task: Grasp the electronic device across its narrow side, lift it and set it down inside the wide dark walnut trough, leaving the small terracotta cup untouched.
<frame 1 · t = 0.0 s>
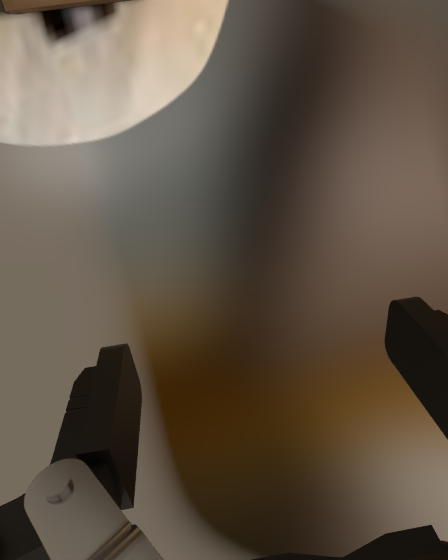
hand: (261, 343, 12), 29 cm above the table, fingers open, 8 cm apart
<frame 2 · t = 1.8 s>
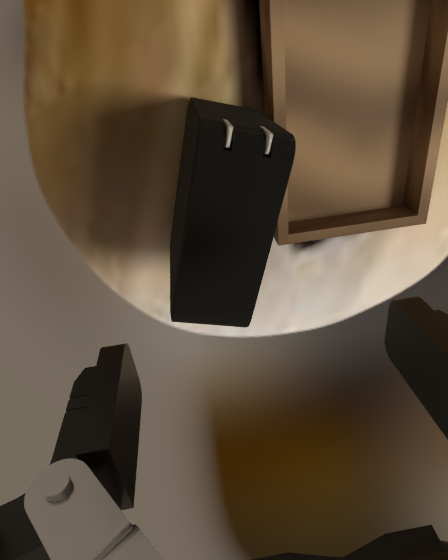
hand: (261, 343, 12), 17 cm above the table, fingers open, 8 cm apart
trough: (345, 99, 25), on the table
electronic device: (208, 180, 26), on the table
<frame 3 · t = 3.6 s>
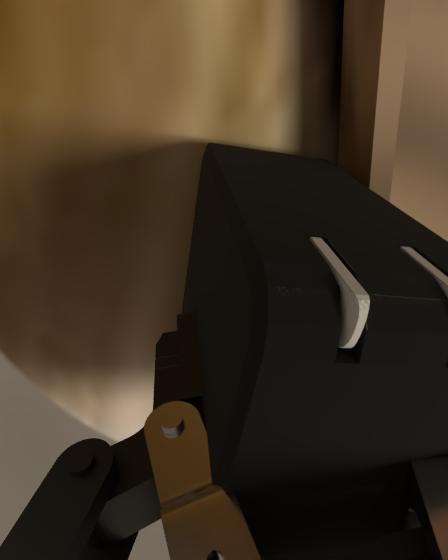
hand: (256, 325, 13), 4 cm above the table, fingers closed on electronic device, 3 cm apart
electronic device: (237, 269, 16), on the table, touching gripper
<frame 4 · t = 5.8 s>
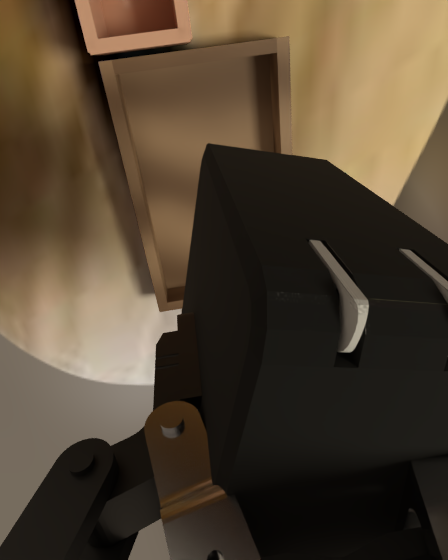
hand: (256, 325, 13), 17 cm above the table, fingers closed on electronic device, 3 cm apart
trough: (210, 184, 27), on the table
electronic device: (237, 269, 16), point 13 cm above the table, touching gripper
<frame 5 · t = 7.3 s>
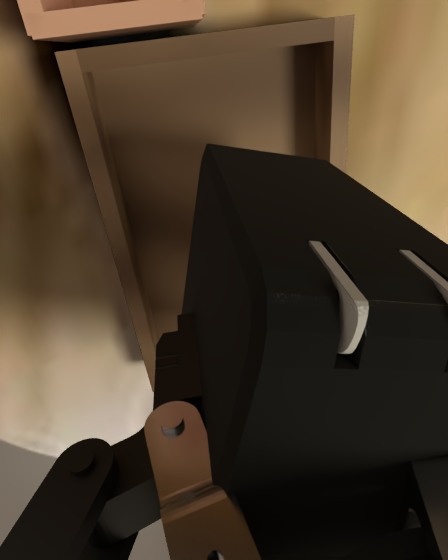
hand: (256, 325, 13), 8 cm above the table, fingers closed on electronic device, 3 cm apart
trough: (223, 224, 20), on the table
electronic device: (236, 269, 16), point 5 cm above the table, touching gripper
when the fingers open (6 cm above the table, at t = 8.2 s): electronic device drops 1 cm, resting on trough.
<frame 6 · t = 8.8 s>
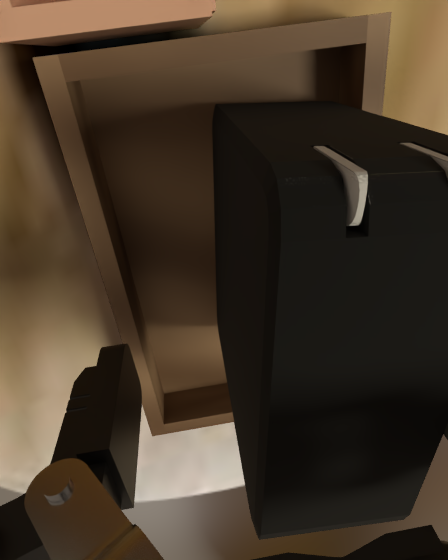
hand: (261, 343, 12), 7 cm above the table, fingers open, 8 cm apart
trough: (231, 250, 18), on the table
electronic device: (261, 226, 17), resting on trough
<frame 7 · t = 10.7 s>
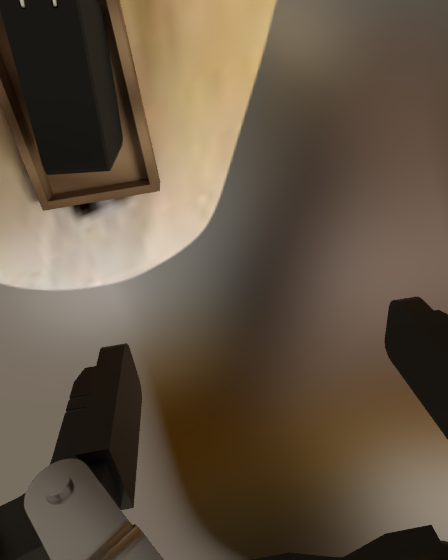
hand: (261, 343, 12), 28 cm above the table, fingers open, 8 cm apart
trough: (77, 96, 32), on the table
electronic device: (88, 80, 32), resting on trough
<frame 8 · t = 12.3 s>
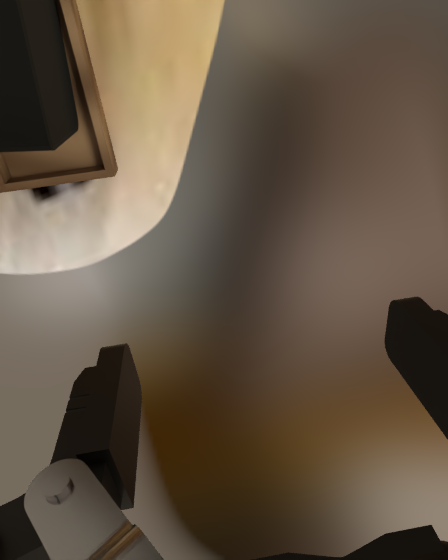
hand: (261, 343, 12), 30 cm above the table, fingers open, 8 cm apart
trough: (33, 82, 33), on the table
electronic device: (44, 66, 33), resting on trough
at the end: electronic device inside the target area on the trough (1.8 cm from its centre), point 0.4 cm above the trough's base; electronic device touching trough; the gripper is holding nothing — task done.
